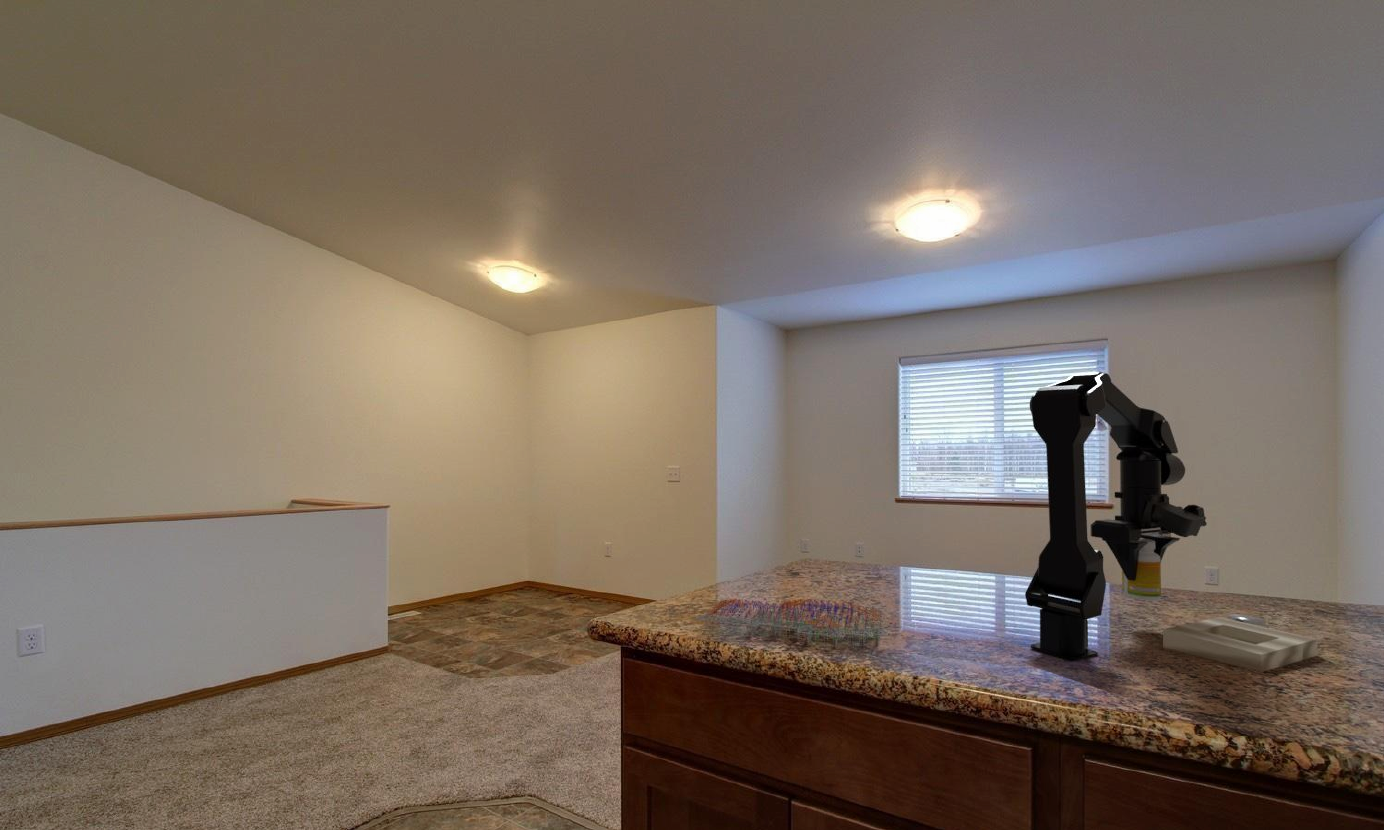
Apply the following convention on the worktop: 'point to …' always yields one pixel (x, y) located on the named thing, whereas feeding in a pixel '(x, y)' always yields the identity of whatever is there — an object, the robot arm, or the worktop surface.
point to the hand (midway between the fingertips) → (1141, 578)
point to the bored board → (1240, 643)
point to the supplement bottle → (1145, 575)
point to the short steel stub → (1248, 619)
